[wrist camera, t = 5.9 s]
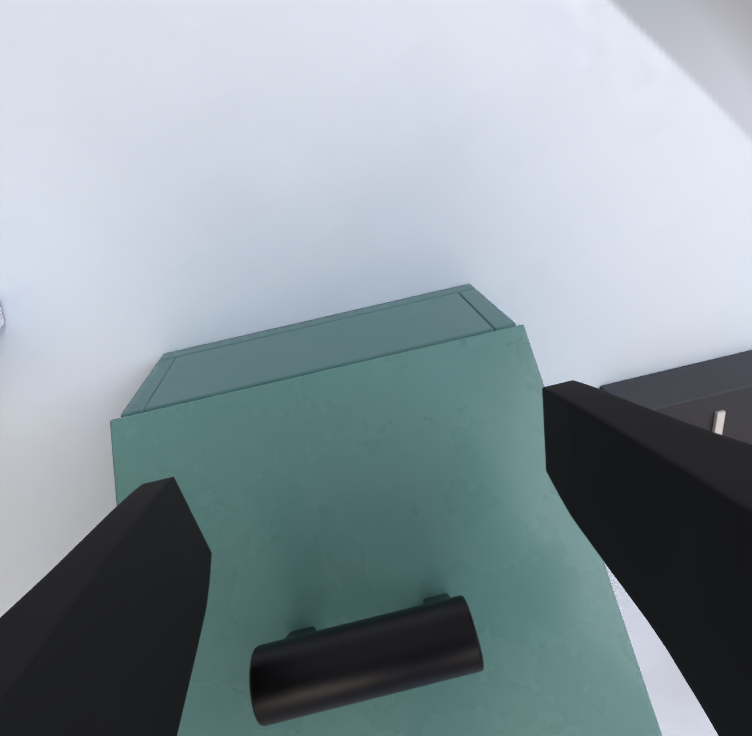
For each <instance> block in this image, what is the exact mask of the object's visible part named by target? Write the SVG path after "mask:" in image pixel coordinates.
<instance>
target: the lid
mask: <svg viewBox="0 0 752 736" xmlns="http://www.w3.org/2000/svg"><path fill="white" fill-rule="evenodd" d="M543 387H544V384H543V382H542V379H541V376H540V373H539V370H538V367H537V364H536V361H535V358H534V355H533V352H532V349H531V346H530V343H529V340H528V337H527V334H526V331H525V328H524V326H523V325H518V326H514V327H509V328H505V329H501V330H496V331H492V332H488V333H484V334H479V335H475V336H471V337H466V338H462V339H458V340H453V341H449V342H445V343H441V344H436V345H432V346H428V347H423V348H419V349H415V350H410V351H406V352H402V353H397V354H393V355H389V356H385V357H380V358H376V359H372V360H367V361H363V362H359V363H354V364H350V365H346V366H342V367H337V368H333V369H329V370H324V371H320V372H316V373H311V374H307V375H303V376H299V377H294V378H290V379H286V380H281V381H277V382H273V383H268V384H264V385H260V386H256V387H251V388H247V389H243V390H238V391H234V392H230V393H225V394H221V395H217V396H213V397H208V398H204V399H200V400H195V401H191V402H187V403H182V404H178V405H174V406H169V407H165V408H161V409H157V410H152V411H148V412H144V413H139V414H135V415H131V416H126V417H122V418H118V419H114V420H111V421H110V426H111V438H112V451H113V463H114V476H115V488H116V500H117V506H118V505H119V504H120V503H121V502H122V501H123V500H124V499H125V498H126V497H127V496H129V495H130V494H131V493H132V492H133V491H134V490H136V489H137V488H138V487H139V486H140V485H142V484H144V483H149V482H153V481H157V480H161V479H165V478H169V477H173V476H174V478H175V480H176V482H177V484H178V486H179V488H180V490H181V492H182V494H183V496H184V498H185V500H186V502H187V504H188V506H189V508H190V510H191V512H192V514H193V516H194V518H195V520H196V522H197V524H198V526H199V528H200V530H201V532H202V534H203V536H204V538H205V540H206V542H207V544H208V546H209V548H210V550H211V552H212V559H211V571H210V583H209V592H208V601H207V608H206V612H205V617H204V622H203V626H202V631H201V635H200V639H199V644H198V648H197V653H196V657H195V661H194V666H193V670H192V674H191V678H190V683H189V687H188V691H187V695H186V700H185V704H184V708H183V713H182V717H181V721H180V725H179V730H178V734H177V736H662V734H661V731H660V728H659V725H658V722H657V719H656V716H655V713H654V710H653V707H652V704H651V701H650V699H649V696H648V693H647V690H646V687H645V684H644V681H643V678H642V675H641V672H640V669H639V666H638V663H637V660H636V657H635V654H634V651H633V648H632V645H631V642H630V639H629V636H628V633H627V630H626V627H625V624H624V621H623V619H622V616H621V613H620V610H619V607H618V604H617V601H616V598H615V595H614V592H613V589H612V586H611V583H610V580H609V577H608V574H607V571H606V568H605V565H604V562H603V560H602V558H601V557H600V555H599V554H598V553H597V551H596V550H595V549H594V547H593V546H592V545H591V543H590V542H589V540H588V539H587V538H586V536H585V535H584V533H583V532H582V531H581V529H580V528H579V527H578V525H577V524H576V522H575V521H574V520H573V518H572V517H571V515H570V514H569V512H568V510H567V508H566V507H565V505H564V503H563V501H562V500H561V498H560V496H559V494H558V492H557V491H556V489H555V487H554V485H553V483H552V481H551V479H550V477H549V476H548V474H547V472H546V459H545V438H544V417H543V396H542V388H543Z"/></svg>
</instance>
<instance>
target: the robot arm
mask: <svg viewBox="0 0 752 736" xmlns="http://www.w3.org/2000/svg"><path fill="white" fill-rule="evenodd" d="M542 396H543V417H544V438H545V459H546V472H547V474H548V476H549V477H550V479H551V481H552V483H553V485H554V487H555V489H556V491H557V492H558V494H559V496H560V498H561V500H562V501H563V503H564V505H565V507H566V508H567V510H568V512H569V514H570V515H571V517H572V518H573V520H574V521H575V522H576V524H577V525H578V527H579V528H580V529H581V531H582V532H583V533H584V535H585V536H586V538H587V539H588V540H589V542H590V543H591V545H592V546H593V547H594V549H595V550H596V551H597V553H598V554H599V555H600V557H601V558H602V560H603V561H604V562H605V564H606V565H607V566H608V568H609V569H610V570H611V572H612V573H613V574H614V576H615V577H616V578H617V580H618V581H619V583H620V584H621V585H622V587H623V588H624V589H625V591H626V592H627V593H628V595H629V596H630V597H631V599H632V600H633V602H634V603H635V604H636V606H637V607H638V608H639V610H640V611H641V612H642V614H643V615H644V616H645V618H646V619H647V621H648V622H649V624H650V625H651V626H652V628H653V629H654V631H655V632H656V634H657V635H658V637H659V638H660V640H661V641H662V643H663V644H664V646H665V647H666V649H667V650H668V652H669V654H670V655H671V657H672V658H673V660H674V662H675V663H676V665H677V667H678V668H679V670H680V672H681V673H682V675H683V677H684V678H685V680H686V682H687V683H688V685H689V686H690V688H691V690H692V691H693V693H694V695H695V696H696V698H697V700H698V701H699V703H700V705H701V706H702V708H703V709H704V711H705V713H706V715H707V716H708V718H709V720H710V722H711V723H712V725H713V727H714V728H715V730H716V732H717V734H718V735H719V736H752V445H751V444H748V443H745V442H742V441H739V440H736V439H733V438H730V437H727V436H724V435H721V434H718V433H715V432H712V431H709V430H706V429H703V428H700V427H698V426H695V425H692V424H689V423H686V422H684V421H681V420H678V419H675V418H673V417H670V416H667V415H665V414H662V413H660V412H657V411H654V410H652V409H649V408H646V407H644V406H641V405H639V404H636V403H634V402H631V401H628V400H626V399H623V398H621V397H618V396H616V395H613V394H610V393H608V392H605V391H603V390H600V389H597V388H594V387H592V386H589V385H586V384H583V383H580V382H577V381H573V380H572V381H568V382H564V383H560V384H555V385H551V386H547V387H543V388H542ZM211 559H212V552H211V550H210V548H209V546H208V544H207V542H206V540H205V538H204V536H203V534H202V532H201V530H200V528H199V526H198V524H197V522H196V520H195V518H194V516H193V514H192V512H191V510H190V508H189V506H188V504H187V502H186V500H185V498H184V496H183V494H182V492H181V490H180V488H179V486H178V484H177V482H176V480H175V478H174V476H173V477H169V478H165V479H161V480H157V481H153V482H149V483H144V484H142V485H140V486H139V487H138V488H137V489H136V490H134V491H133V492H132V493H131V494H130V495H129V496H127V497H126V498H125V499H124V500H123V501H122V502H121V503H120V504H119V505H118V506H117V507H116V508H115V509H114V510H113V511H112V512H110V513H109V514H108V515H107V516H106V517H105V518H104V519H103V520H102V521H101V522H100V523H99V524H98V525H97V526H96V527H95V528H94V529H93V530H92V531H91V532H90V533H89V534H88V535H87V536H86V537H85V538H84V539H83V540H82V541H81V542H80V543H79V544H78V545H77V546H76V547H75V548H74V549H73V550H72V551H71V552H70V553H69V554H68V555H67V556H66V557H64V558H63V559H62V560H61V561H60V562H59V563H58V564H57V565H56V566H55V567H54V568H53V569H52V570H51V571H50V572H49V573H48V574H47V575H46V576H45V577H44V578H43V579H42V580H41V581H40V582H39V583H37V584H36V585H35V586H34V587H33V588H32V589H31V590H30V591H29V592H28V593H27V594H26V595H24V596H23V597H22V598H21V599H20V600H19V601H18V602H17V603H16V604H15V605H14V606H13V607H11V608H10V609H9V610H8V611H7V612H6V613H5V614H4V615H3V616H2V617H1V618H0V736H177V734H178V730H179V725H180V721H181V717H182V713H183V708H184V704H185V700H186V695H187V691H188V687H189V683H190V678H191V674H192V670H193V666H194V661H195V657H196V653H197V648H198V644H199V639H200V635H201V631H202V626H203V622H204V617H205V612H206V608H207V601H208V592H209V583H210V571H211Z"/></svg>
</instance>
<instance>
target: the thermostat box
mask: <svg viewBox="0 0 752 736" xmlns="http://www.w3.org/2000/svg"><path fill="white" fill-rule="evenodd" d="M601 390H603V391H605V392H608V393H610V394H613V395H616V396H618V397H621V398H623V399H626V400H628V401H631V402H634V403H636V404H639V405H641V406H644V407H646V408H649V409H652V410H654V411H657V412H660V413H662V414H665V415H667V416H670V417H673V418H675V419H678V420H681V421H684V422H686V423H689V424H692V425H695V426H698V427H700V428H703V429H706V430H709V431H712V432H715V433H718V434H721V435H724V436H727V437H730V438H733V439H736V440H739V441H742V442H745V443H748V444H751V445H752V350H751V351H747V352H743V353H739V354H735V355H730V356H726V357H722V358H718V359H713V360H709V361H705V362H701V363H697V364H692V365H688V366H684V367H680V368H676V369H671V370H667V371H663V372H659V373H655V374H650V375H646V376H642V377H638V378H633V379H629V380H625V381H621V382H617V383H612V384H608V385H604V386H601Z"/></svg>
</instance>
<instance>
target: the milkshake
mask: <svg viewBox="0 0 752 736" xmlns="http://www.w3.org/2000/svg"><path fill="white" fill-rule="evenodd" d="M4 323H5V322H4V318H3V314H2V311H1V307H0V330H1V328H2V326H3V325H4Z"/></svg>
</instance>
